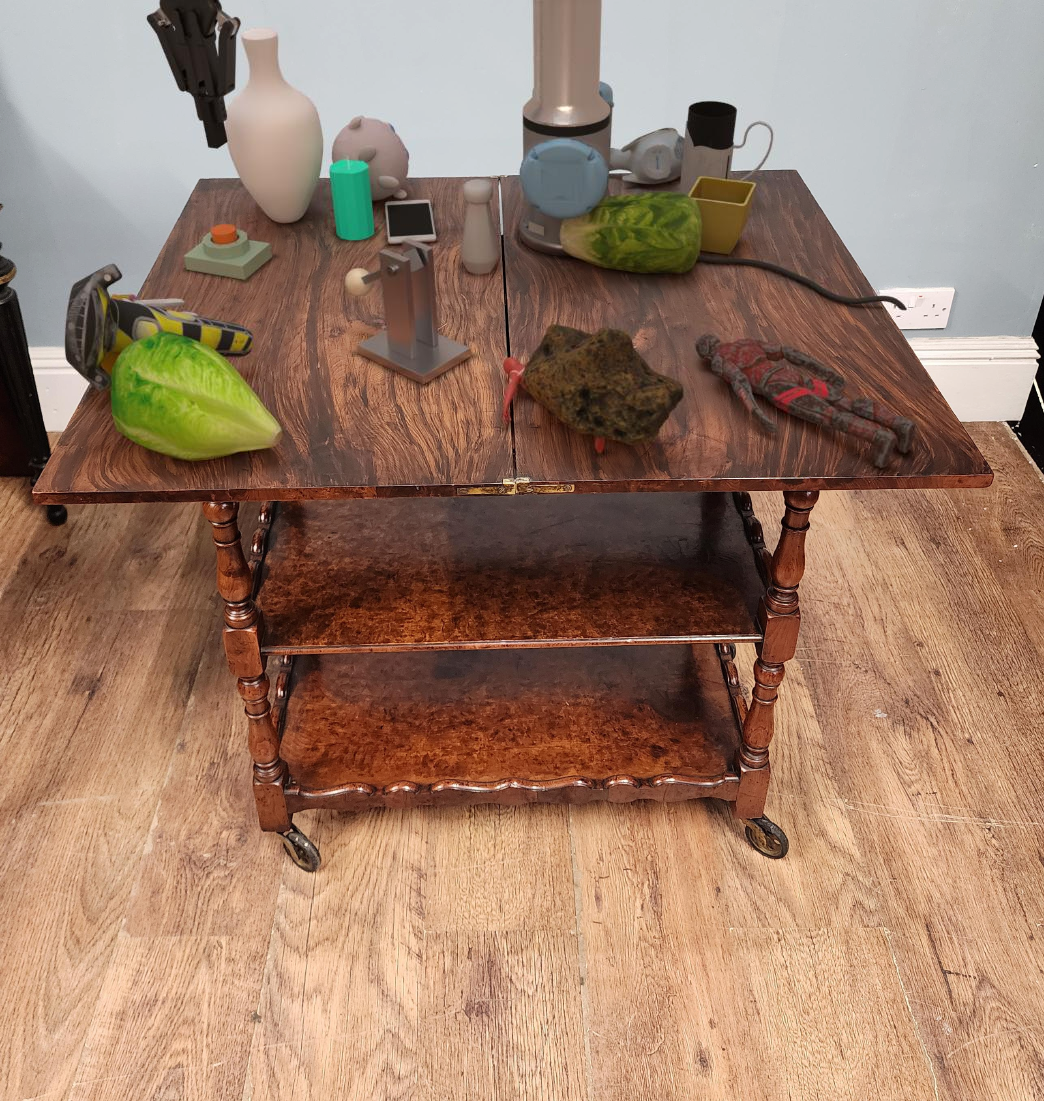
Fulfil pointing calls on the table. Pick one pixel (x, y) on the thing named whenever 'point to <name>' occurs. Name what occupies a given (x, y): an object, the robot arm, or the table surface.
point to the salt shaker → (479, 229)
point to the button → (224, 234)
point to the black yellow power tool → (132, 327)
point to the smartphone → (410, 221)
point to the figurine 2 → (802, 392)
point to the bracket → (411, 320)
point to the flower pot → (722, 211)
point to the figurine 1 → (515, 377)
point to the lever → (375, 275)
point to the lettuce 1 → (186, 401)
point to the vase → (274, 134)
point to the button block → (228, 256)
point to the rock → (600, 384)
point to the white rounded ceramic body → (651, 157)
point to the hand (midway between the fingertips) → (218, 144)
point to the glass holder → (711, 143)
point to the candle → (352, 199)
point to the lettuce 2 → (637, 233)
